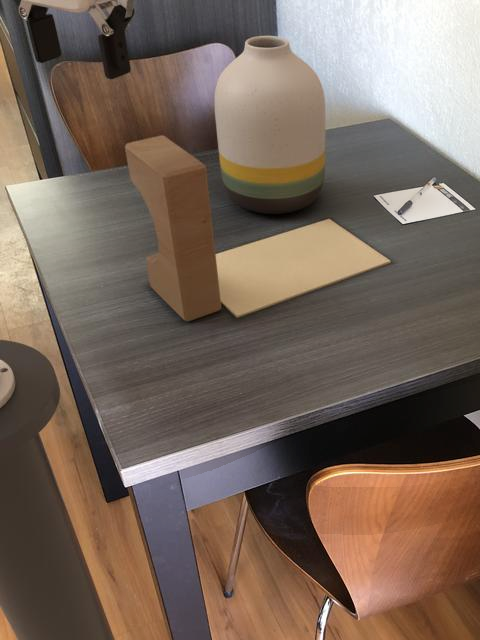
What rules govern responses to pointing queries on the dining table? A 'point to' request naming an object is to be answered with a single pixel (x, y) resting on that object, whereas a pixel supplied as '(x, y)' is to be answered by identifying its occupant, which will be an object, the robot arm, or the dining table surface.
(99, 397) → the dining table surface
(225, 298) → the felt mat
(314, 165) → the vase
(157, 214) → the decorative block
